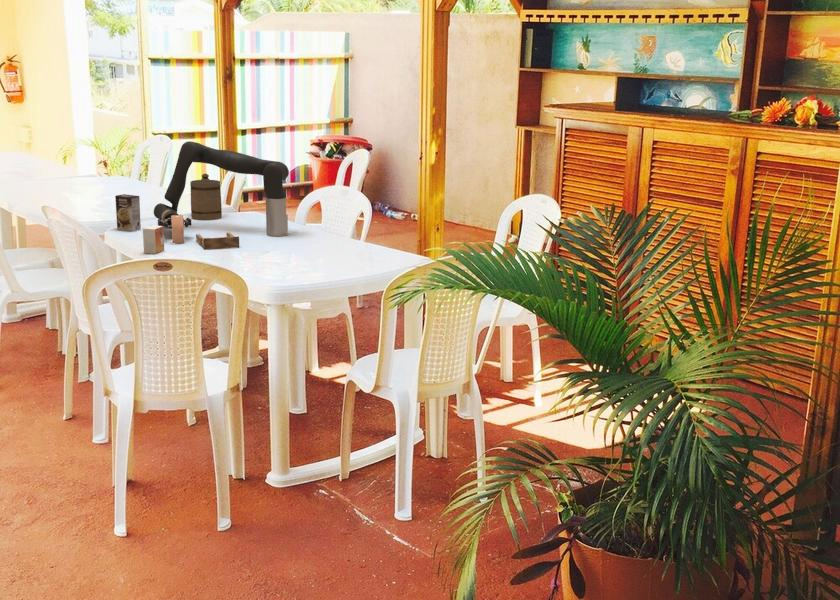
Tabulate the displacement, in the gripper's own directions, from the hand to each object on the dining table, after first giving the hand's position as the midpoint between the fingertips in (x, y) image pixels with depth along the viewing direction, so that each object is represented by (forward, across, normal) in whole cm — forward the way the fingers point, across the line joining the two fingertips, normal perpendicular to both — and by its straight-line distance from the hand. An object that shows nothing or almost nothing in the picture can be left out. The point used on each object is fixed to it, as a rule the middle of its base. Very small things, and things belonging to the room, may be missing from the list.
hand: (177, 225), depth 415 cm
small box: (+17, -12, +8) cm, 22 cm away
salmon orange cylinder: (+2, 0, +8) cm, 8 cm away
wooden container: (-55, +23, +8) cm, 60 cm away
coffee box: (-33, -17, +8) cm, 38 cm away
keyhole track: (+10, +16, +8) cm, 20 cm away
